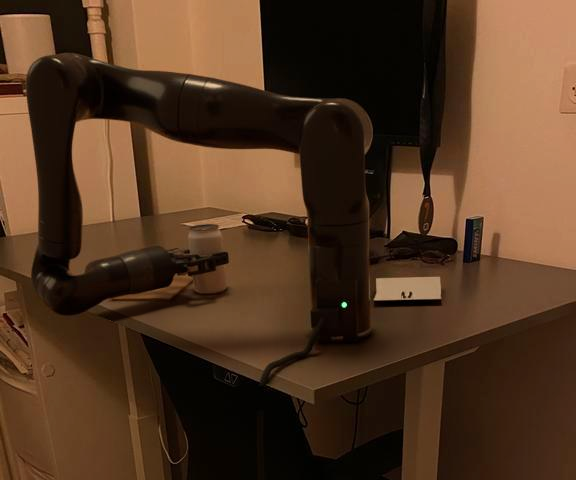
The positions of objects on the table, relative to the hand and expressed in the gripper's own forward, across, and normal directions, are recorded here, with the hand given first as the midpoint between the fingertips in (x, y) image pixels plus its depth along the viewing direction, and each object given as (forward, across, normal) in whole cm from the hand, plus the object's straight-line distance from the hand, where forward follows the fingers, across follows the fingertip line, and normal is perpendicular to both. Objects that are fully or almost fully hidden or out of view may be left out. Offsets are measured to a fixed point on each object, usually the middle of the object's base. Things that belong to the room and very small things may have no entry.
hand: (215, 254), depth 154 cm
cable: (+31, -5, +7) cm, 32 cm away
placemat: (-8, +10, +6) cm, 15 cm away
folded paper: (+18, -34, +7) cm, 39 cm away
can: (-2, 0, +7) cm, 7 cm away
